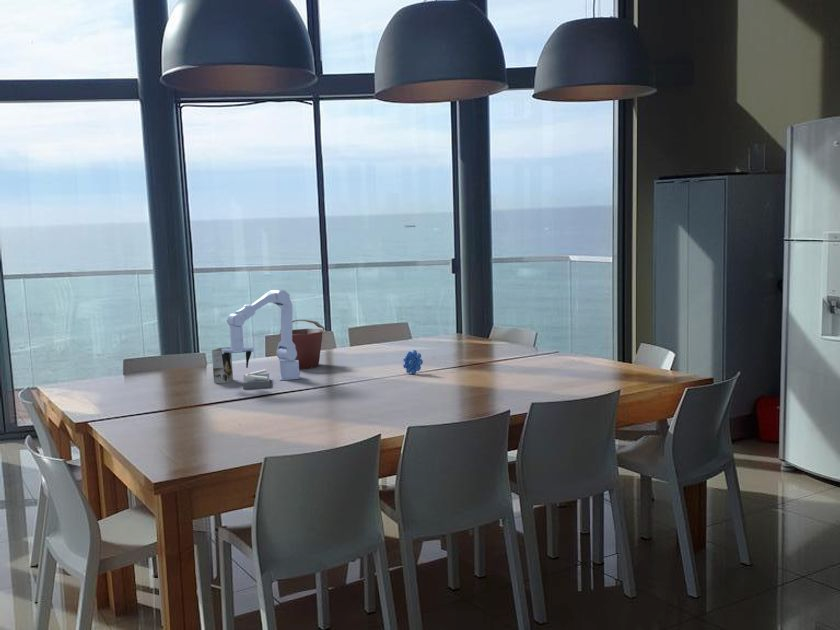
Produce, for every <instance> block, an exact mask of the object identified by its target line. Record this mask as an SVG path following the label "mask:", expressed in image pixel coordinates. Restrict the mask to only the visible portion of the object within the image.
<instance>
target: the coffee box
mask: <svg viewBox="0 0 840 630" xmlns="http://www.w3.org/2000/svg"><path fill="white" fill-rule="evenodd" d="M230 348H231V347H219V348H216V349H212V350H211V354H212V355H211V358H212V375H213V383H214V384H226V383H228V382H231V381H232V380H234V375H233V374H234V373H233V359H232V358H233V356H232V353H230V362H231V369H229V365H228V362H227V360H226V358H225V356H224V354H222V349H230Z"/></svg>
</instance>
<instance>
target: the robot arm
mask: <svg viewBox="0 0 840 630" xmlns="http://www.w3.org/2000/svg"><path fill="white" fill-rule="evenodd" d="M269 303H273V304H274V305H276V306H278V308H279V309H280V330H281V332H280V333H281V341H279V342H278V344H277V349H276V352H275V353H276V357H277V358H278V361H279V373H280V375H279V381H287V380H289V381H290V380H301V378H300V375H301V372H300V369H299V361H298V360H295V358H296V356H297V351H296V349H295V344H294V343H293V342H292V330H293V323H292V321H293V303H292V300H291V297H290V293H289V292H287V291H286V290H285V289H281V290H280V289H273V288H271V289H270V290H269V291H267V292H265V293H264V294H263V295H262V296H261V297H260V298H258V299H257V300H256V301H254V302H253V303H252V304H249V303H248V304H244V305H243V306H242V308H240V309H239V310H238V309H237V310H236V311H235V313H230V314H229V315H228V317H227V319H226V322H227V324H228V326H229V335H230V347H229V348H230V349H222V354H224V356H225V358H226V360H227V362H228V365H229V369H231V362H230V353H231V354H237V353H238V354H239V353H245V359H246V360H245V361H246V362H245V363H246V366H245V368H246V369H248V368H249V360H250V357H251V356H252V353H254V351H255V350H254V347H245V346H244V332H243V326H244V324H245V322H246V321H248V319H250V318H251V317H252V318H253V316H254V315H255V314H256V311H258V309H259V310H260V309H261V308H262V307H264V306H266V305H267V304H269Z"/></svg>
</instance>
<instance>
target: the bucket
mask: <svg viewBox="0 0 840 630" xmlns="http://www.w3.org/2000/svg"><path fill="white" fill-rule="evenodd" d="M295 322H308V323H311V324H314V325H315V326H317V328H297V329H292V342H293V343H294V344H295V349H296V351H297V356H296V358H295V360H298V361H299V370H308V369H314V368H319V366H320V358H321V351H322V350H321V348H322V342H323V333H324V331H325V326H323V325H322V324H321V323H319V322H318V321H315V320H312V319H311V320H310V319H305V318H304V319H302V318H299V319H294V320H292V324H293V323H295ZM318 328H319V329H318ZM279 331H280V332H279V340H280V341H281V329H280V330H279ZM280 341H279V342H280Z"/></svg>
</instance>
